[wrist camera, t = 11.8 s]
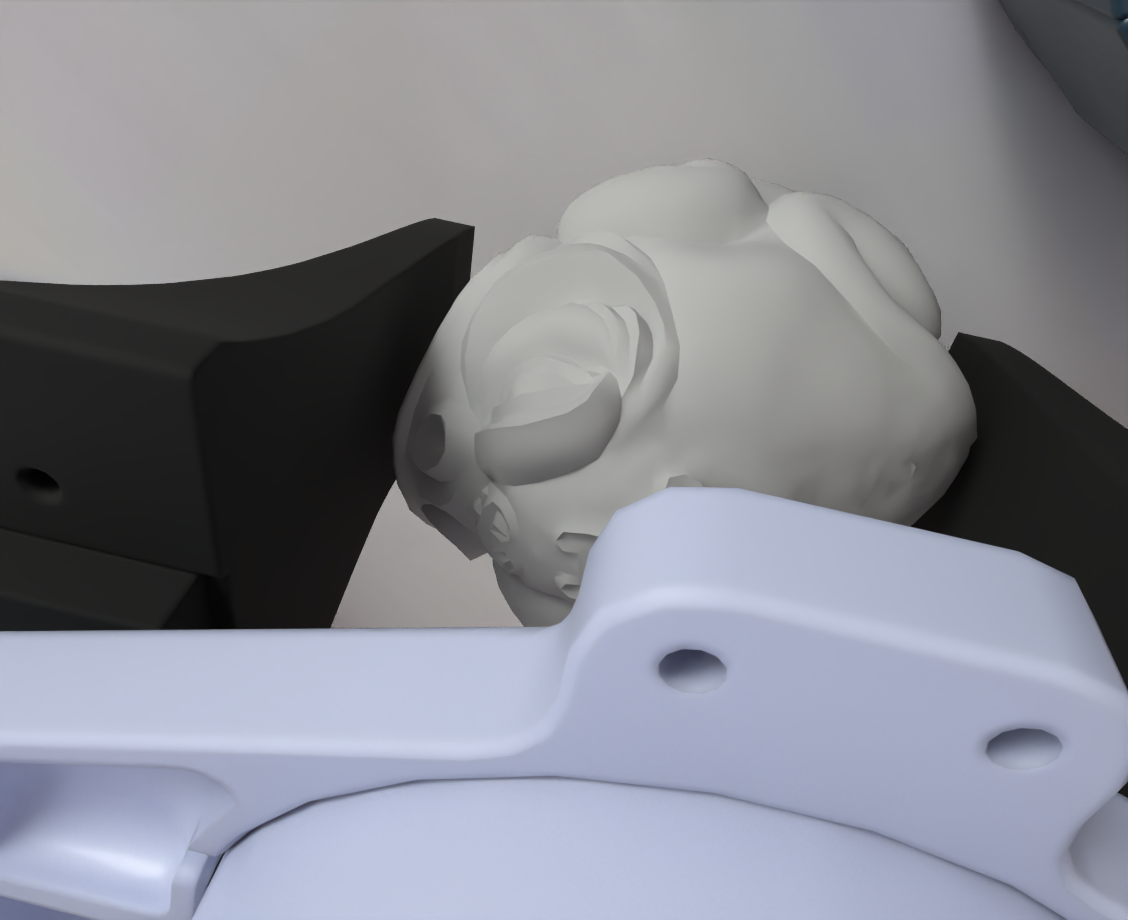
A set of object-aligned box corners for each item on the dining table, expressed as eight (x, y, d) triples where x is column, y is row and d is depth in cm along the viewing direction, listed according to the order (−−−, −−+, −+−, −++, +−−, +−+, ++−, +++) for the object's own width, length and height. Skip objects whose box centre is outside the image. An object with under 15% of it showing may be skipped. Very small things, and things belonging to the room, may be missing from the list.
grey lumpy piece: (472, 98, 13) (276, 300, 7) (958, 83, 12) (1161, 311, 6) (512, 425, 16) (401, 726, 11) (885, 439, 15) (973, 784, 10)
